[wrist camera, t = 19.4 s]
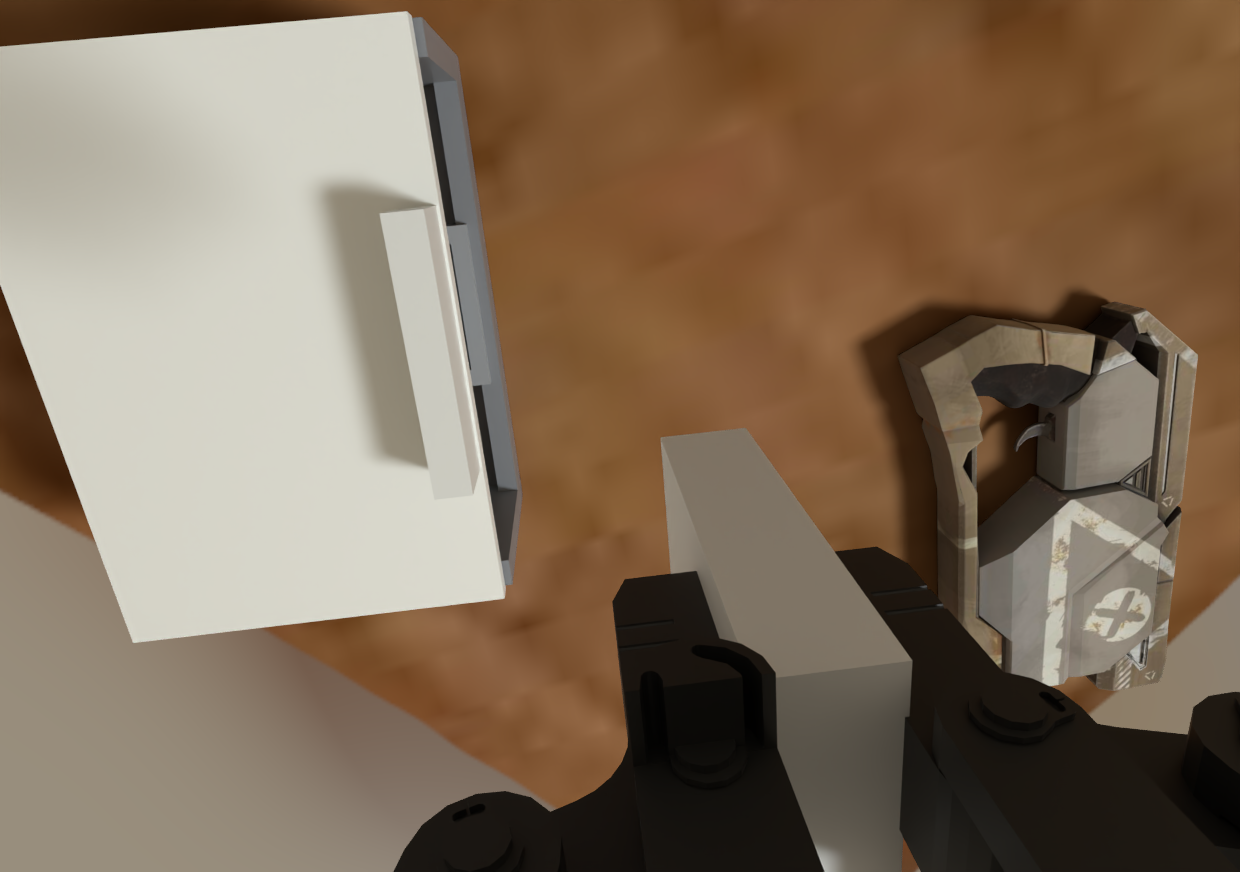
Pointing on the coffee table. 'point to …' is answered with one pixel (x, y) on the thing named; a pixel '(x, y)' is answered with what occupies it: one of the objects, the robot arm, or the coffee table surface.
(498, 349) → the housing
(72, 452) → the lid
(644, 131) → the coffee table surface
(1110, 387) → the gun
